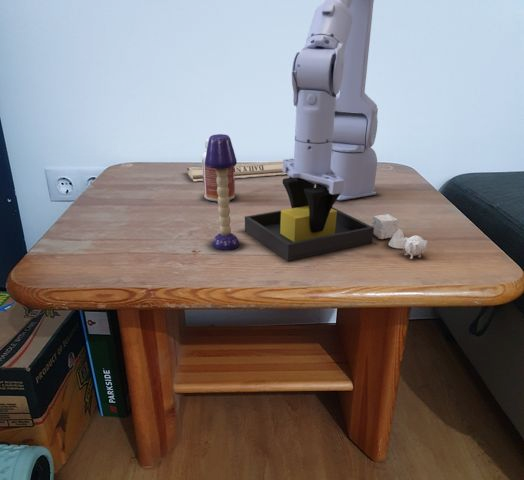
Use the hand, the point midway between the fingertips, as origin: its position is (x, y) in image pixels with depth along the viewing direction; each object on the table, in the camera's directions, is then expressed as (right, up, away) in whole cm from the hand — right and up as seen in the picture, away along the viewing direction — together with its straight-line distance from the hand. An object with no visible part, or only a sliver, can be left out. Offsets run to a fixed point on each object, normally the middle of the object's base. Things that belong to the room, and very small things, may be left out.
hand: (308, 226), depth 88 cm
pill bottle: (-16, +10, +19) cm, 27 cm away
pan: (0, -1, +1) cm, 2 cm away
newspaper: (-12, +20, +34) cm, 41 cm away
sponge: (0, -1, +1) cm, 1 cm away
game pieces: (+14, -4, -1) cm, 15 cm away
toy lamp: (-14, -4, -2) cm, 15 cm away
